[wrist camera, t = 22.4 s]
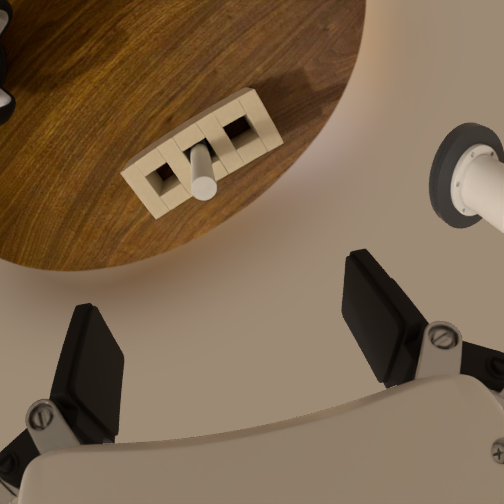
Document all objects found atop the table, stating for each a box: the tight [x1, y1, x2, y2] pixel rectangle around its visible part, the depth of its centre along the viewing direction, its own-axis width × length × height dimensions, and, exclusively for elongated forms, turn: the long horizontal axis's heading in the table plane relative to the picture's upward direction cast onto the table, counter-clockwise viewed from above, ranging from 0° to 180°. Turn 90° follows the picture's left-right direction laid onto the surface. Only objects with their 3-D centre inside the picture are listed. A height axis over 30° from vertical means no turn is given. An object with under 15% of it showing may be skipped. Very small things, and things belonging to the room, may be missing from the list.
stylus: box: [190, 139, 217, 200], centre depth 27 cm, size 2×2×14 cm
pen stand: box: [121, 87, 284, 219], centre depth 31 cm, size 15×6×5 cm, turn 119°
